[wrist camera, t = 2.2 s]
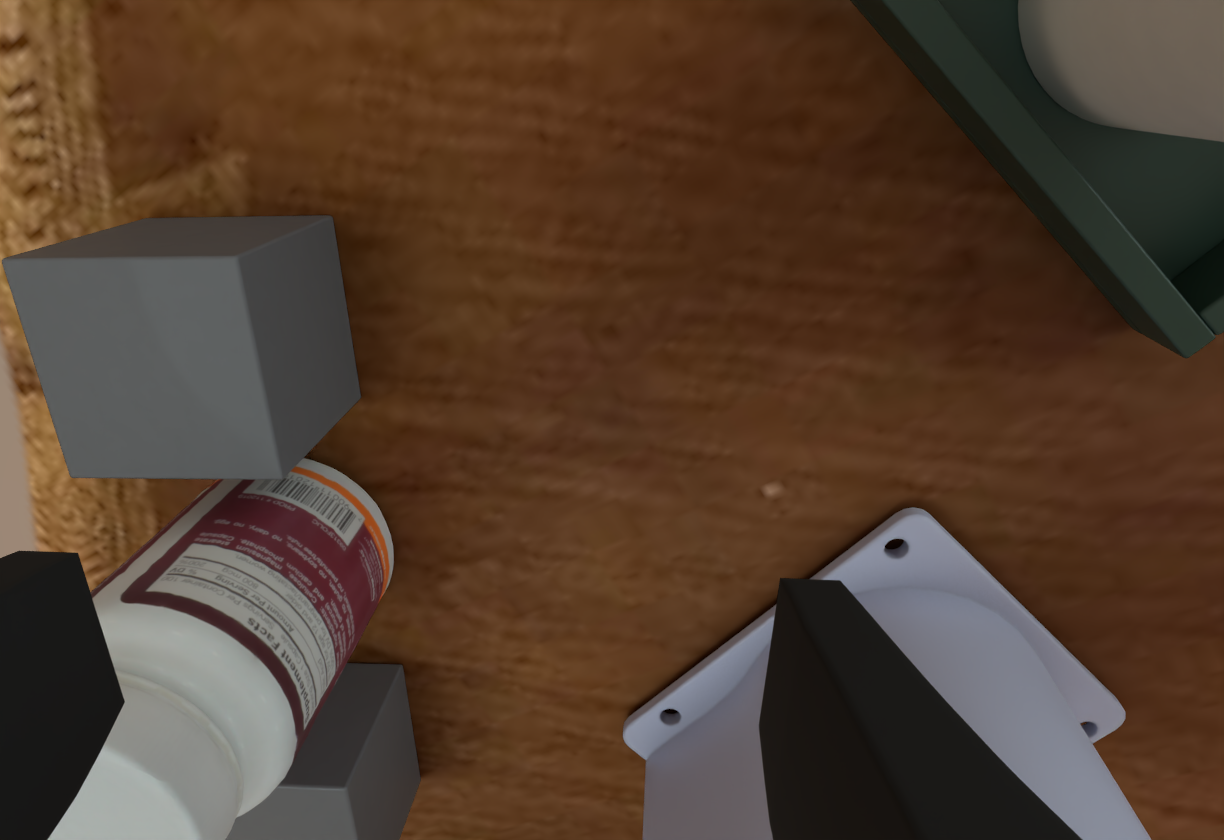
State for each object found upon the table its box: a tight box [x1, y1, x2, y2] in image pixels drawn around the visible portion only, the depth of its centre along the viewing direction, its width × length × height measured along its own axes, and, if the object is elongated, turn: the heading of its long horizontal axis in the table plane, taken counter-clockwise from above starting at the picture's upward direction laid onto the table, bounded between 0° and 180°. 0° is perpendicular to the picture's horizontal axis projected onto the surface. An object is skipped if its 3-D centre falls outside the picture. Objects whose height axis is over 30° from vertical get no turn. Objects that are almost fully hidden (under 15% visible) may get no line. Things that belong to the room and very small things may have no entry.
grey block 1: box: [2, 215, 361, 480], centre depth 16 cm, size 4×4×4 cm
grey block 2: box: [225, 663, 421, 840], centre depth 20 cm, size 4×4×4 cm
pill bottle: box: [48, 458, 394, 840], centre depth 16 cm, size 5×5×8 cm
